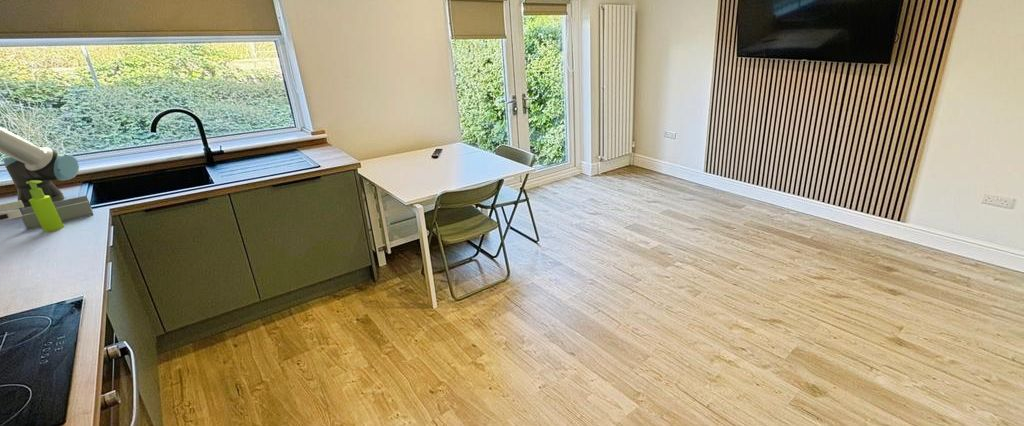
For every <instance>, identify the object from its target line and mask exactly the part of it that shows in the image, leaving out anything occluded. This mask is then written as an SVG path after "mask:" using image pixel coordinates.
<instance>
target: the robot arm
mask: <svg viewBox="0 0 1024 426" xmlns="http://www.w3.org/2000/svg"><path fill="white" fill-rule="evenodd" d="M0 153H2V154H4V155H5V156H6V157H5V158H4V159H3V162H4V166H5V168H6V170H7V173H8V174H9V177H10V178H11V180H12V182H13V184H14V186H15V188H16V190H17V200H16V201H11V202H5V203H0V222H1V221H2V222H3V221H6V220H11V219H15V218H21V216H22V215H23V213H22V212H21V210H20V209H22V208H27V207H32V206H31V204H30V202H29V200H30V199H32V196H31V194H30V191H29V190H31V187H30V184H29V183H28V184H26V182H28V181H32V180H39V181H42V183H39V184H36V185H37V187H38V188H41V189H42V191H43V193H44V195H48V196H50V197H51V200H52V202H56V201H61V200H65V195H64V193H63V192H62V190H60V189H59V188H58V187H57V186H56V185H55V184H54V183H53V181H68V180H72V179H74V178H75V177H77V175H78V173H79V169H80V166H79V162H78V160H77V158H76V157H75V156H73V155H72V154H69V153H59V152H57V151H55V150H53V149H52V148H49V147H46V146H41V147H40V146H37V145H36V144H34V143H32V142H30V141H28V140H26V139H25V138H22V137H21V136H19V135H17V134H16V133H14V132H11V131H10V130H7V129H6V128H3V127H2V126H0Z"/></svg>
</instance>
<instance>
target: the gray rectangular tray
mask: <svg viewBox="0 0 1024 426" xmlns="http://www.w3.org/2000/svg"><path fill="white" fill-rule="evenodd" d="M53 204H54V206H55V208H56V210H57V213H58V215H59V217H60V219H61V221H62V223H64V222H68V221H73V220H78V219H81V218H86V216H87V217H90V216H89V215H91V216H94V212H93V207H92V205H91V203H90V201H89V199H88V196H87V195H81V196H76V197H72V198H66V199H62V200H60V201H56V202H53ZM91 207H92V208H91ZM21 210H22V216H21V217H20V218H21V220H22V221H23V222H22V223H23V224H24V225H25V228H26V230H27V231H29V230H34V229H38V228H42V227H41V225H40V223H39V220H38V218H37V216H36V214H35V212H34V210H33V208H32V207H27V208H21Z"/></svg>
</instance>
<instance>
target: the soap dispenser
mask: <svg viewBox="0 0 1024 426" xmlns="http://www.w3.org/2000/svg"><path fill="white" fill-rule="evenodd" d="M28 183H29V184H30V187H31V190H29V191H30V194H31V196H32V199H30V200H29V202H30V204H31V206H32V208H33V210H34V212H35V214H36V216H37V218H38V220H39V223H40V225H41V227H40V228H41V229H42V230H43V232H44V233H52V232H56V231H60V230H62V229H64V228H65V226H64V222H62V221H61V219H60V217H59V215H58V213H57V210H56V208H55V206H54V204H53V202H52V200H51V197H50V196H48V195H44V193H43V191H42V189H41V188H38V187H37V185H36V184H39V183H42V181H39V180H32V181H28V182H26V184H28Z"/></svg>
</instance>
